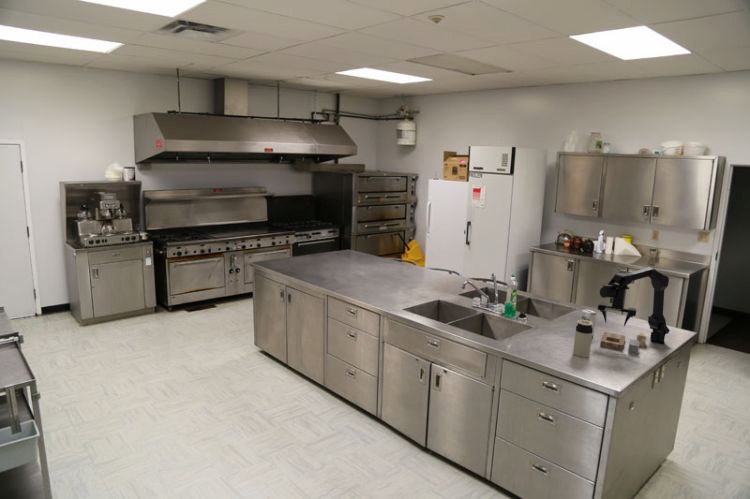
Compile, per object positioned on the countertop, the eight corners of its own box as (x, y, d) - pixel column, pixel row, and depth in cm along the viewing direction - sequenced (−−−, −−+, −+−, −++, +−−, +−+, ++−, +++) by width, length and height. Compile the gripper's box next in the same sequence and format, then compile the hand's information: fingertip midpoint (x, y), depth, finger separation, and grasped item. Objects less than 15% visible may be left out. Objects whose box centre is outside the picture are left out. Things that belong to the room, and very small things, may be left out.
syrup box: (578, 333, 286) (581, 310, 283) (586, 332, 289) (589, 309, 286) (586, 337, 281) (589, 313, 278) (593, 336, 283) (596, 312, 280)
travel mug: (581, 358, 251) (585, 325, 247) (569, 352, 258) (573, 320, 254) (592, 356, 254) (597, 323, 250) (580, 350, 261) (584, 318, 257)
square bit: (645, 344, 273) (646, 334, 272) (645, 346, 270) (646, 336, 268) (636, 342, 276) (637, 332, 274) (635, 345, 272) (637, 334, 271)
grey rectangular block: (637, 349, 266) (639, 340, 265) (637, 355, 258) (638, 346, 257) (628, 347, 268) (629, 339, 267) (628, 353, 260) (629, 344, 259)
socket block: (624, 340, 277) (625, 335, 277) (622, 350, 263) (623, 345, 262) (603, 336, 283) (604, 331, 282) (600, 346, 268) (600, 340, 268)
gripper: (638, 296, 268) (634, 323, 271) (601, 290, 277) (598, 316, 280) (637, 301, 258) (633, 329, 261) (599, 295, 267) (595, 322, 271)
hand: (614, 324), depth 269 cm, fingers open, 9 cm apart
